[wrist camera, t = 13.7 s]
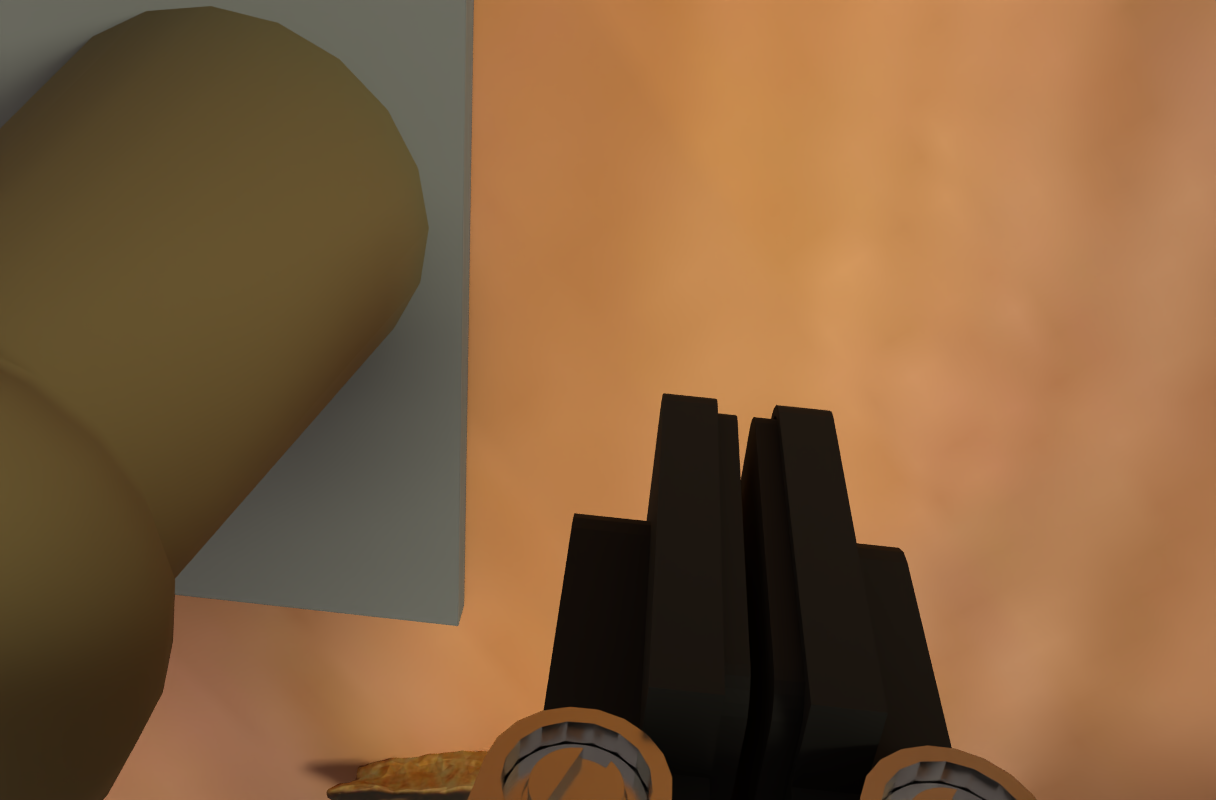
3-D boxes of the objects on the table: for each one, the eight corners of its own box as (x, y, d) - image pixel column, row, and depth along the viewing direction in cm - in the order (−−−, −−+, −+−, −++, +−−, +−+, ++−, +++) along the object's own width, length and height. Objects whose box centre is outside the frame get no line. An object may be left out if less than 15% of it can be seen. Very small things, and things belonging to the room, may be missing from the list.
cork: (508, 193, 17) (264, 789, 8) (296, 443, 20) (-75, 1110, 10) (152, -91, 15) (-708, 237, 6) (-28, 224, 18) (-818, 788, 9)
